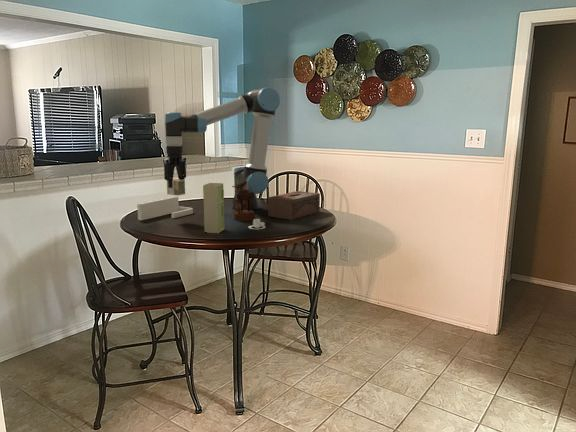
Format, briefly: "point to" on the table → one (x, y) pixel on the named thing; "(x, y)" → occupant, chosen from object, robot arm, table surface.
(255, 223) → the teacup and saucer
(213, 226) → the pale green tall block
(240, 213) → the brown upright irregular piece
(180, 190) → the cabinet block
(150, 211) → the wall board
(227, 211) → the table surface
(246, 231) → the table surface
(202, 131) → the robot arm
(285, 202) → the tissue box cover
